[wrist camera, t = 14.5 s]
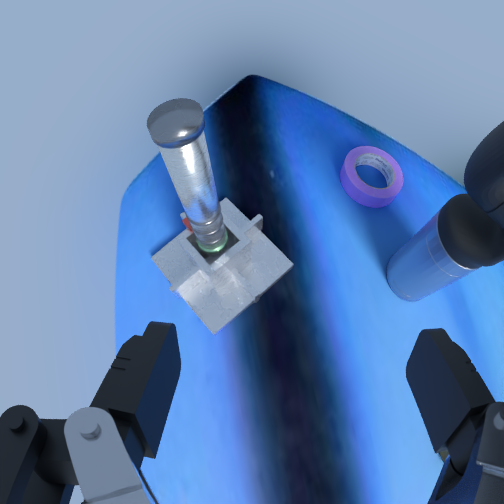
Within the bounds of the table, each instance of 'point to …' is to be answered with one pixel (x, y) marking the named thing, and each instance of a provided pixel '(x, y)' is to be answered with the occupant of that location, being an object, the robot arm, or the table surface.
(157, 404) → the robot arm
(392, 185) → the masking tape
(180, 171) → the cylinder
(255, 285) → the jack base
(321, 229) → the table surface
